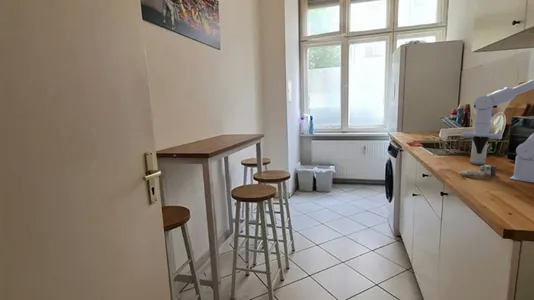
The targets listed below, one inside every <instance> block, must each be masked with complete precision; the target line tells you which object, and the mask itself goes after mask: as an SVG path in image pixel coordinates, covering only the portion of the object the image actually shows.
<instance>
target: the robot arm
mask: <svg viewBox="0 0 534 300" xmlns="http://www.w3.org/2000/svg"><path fill="white" fill-rule="evenodd" d="M533 89H534V78H533V79H530V80H528V81H526V82H524V83H521V84H518V85H517V86H513V87H509V86H505V87H504V86H501V87H500V88H499V89H498V90H495V91H493V92H487V93H486V95H479V97H478V98H476V100H475V101H474V106H475V108H476V109H475V114H474V115H475V116H474V124H473V125H474V126H473V132H470V131H469V132H468V131H462V132H461V137H466V138H467V137H469V138H472V141H474V143H475V146H476V150H477V154H481V153H482V150H483V148H484V146H485V144H486V143H487V141H488V142H489V140H490V139H498V140H502V139H503V134H501V133H490V132H491V131H490V130H491V121H492V115H493V114H492V110H493V107H494V106H498V105H501V104H504V103H507V102H509V101H512V100H514V99H515V97H516V96H517V95H520V94H522V93H526V92H528V91H531V90H533ZM476 135H477V136H476ZM484 136H487V137H484ZM515 153H516V156H515V160H514V161H515V162H514V167H513V168H514V170H513V175H512V176H510V177H509V179H510V180H515V181H522V182H527V183H528V182H529V183H534V131H533V133H532V134H530V135H529V137H528V138H527V139H526V140H525V141H524V142H522V143H520V144H519V145H518V146H517V147H516V149H515Z"/></svg>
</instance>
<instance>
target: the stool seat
mask: <svg viewBox="0 0 534 300" xmlns="http://www.w3.org/2000/svg"><path fill="white" fill-rule="evenodd" d="M490 174H491V171H488V170H484V172H483V171H480V170H473V169H472V170H471V169H466V170H465V169H464V170H460V171H459V176H461V177H463V178H466V179H467V178H468V179H473V180H475V179H476V180H489V179H491V175H490Z"/></svg>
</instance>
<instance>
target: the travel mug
mask: <svg viewBox="0 0 534 300" xmlns="http://www.w3.org/2000/svg"><path fill="white" fill-rule="evenodd" d="M476 136H477V135H476ZM484 137H487V136H484ZM488 142H489V140H488V141H487V143H486V144H485V146H484V148H483V150H482V153H481V154H477V150H476V146H475V143H474V141H473V140H472V145H471V152H470V160H469V161H470V162H469V163H470V164H471V165H474V166H484V165H486V160H487V150H488V144H489V143H488Z"/></svg>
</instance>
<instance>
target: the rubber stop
mask: <svg viewBox="0 0 534 300" xmlns="http://www.w3.org/2000/svg"><path fill="white" fill-rule="evenodd" d="M497 166H498V165H492V166H491V174H490V175H491V176H492V177H495V176H497V175H496V174H497Z"/></svg>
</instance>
